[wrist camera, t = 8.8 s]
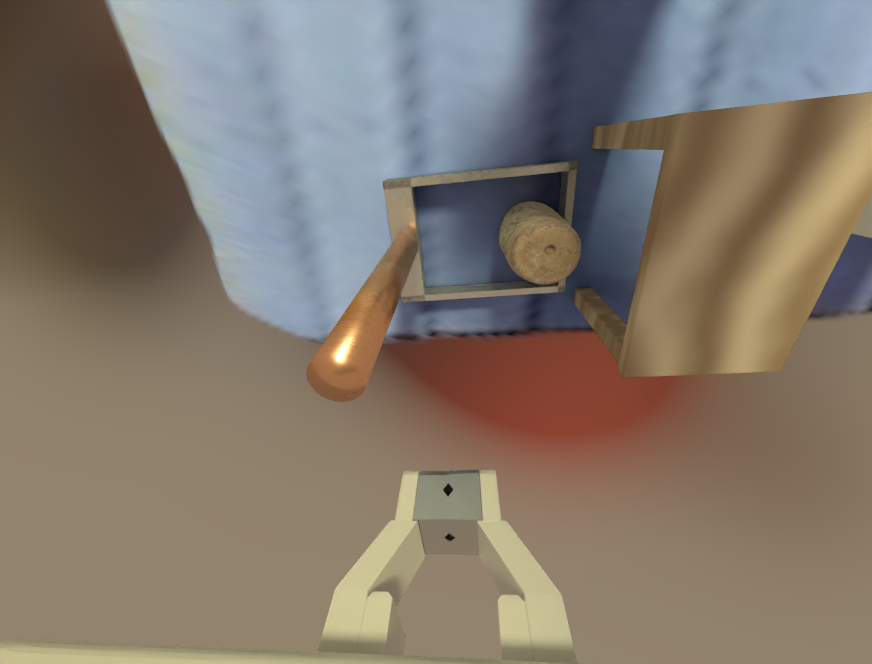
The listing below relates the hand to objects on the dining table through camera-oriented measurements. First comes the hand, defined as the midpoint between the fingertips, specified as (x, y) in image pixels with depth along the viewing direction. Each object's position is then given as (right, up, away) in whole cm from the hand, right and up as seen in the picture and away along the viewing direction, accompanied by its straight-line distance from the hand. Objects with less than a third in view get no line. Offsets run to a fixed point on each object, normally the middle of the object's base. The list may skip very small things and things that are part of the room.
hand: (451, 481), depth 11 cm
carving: (+10, +18, +29) cm, 35 cm away
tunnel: (+23, +18, +27) cm, 40 cm away
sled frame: (+5, +17, +29) cm, 34 cm away
